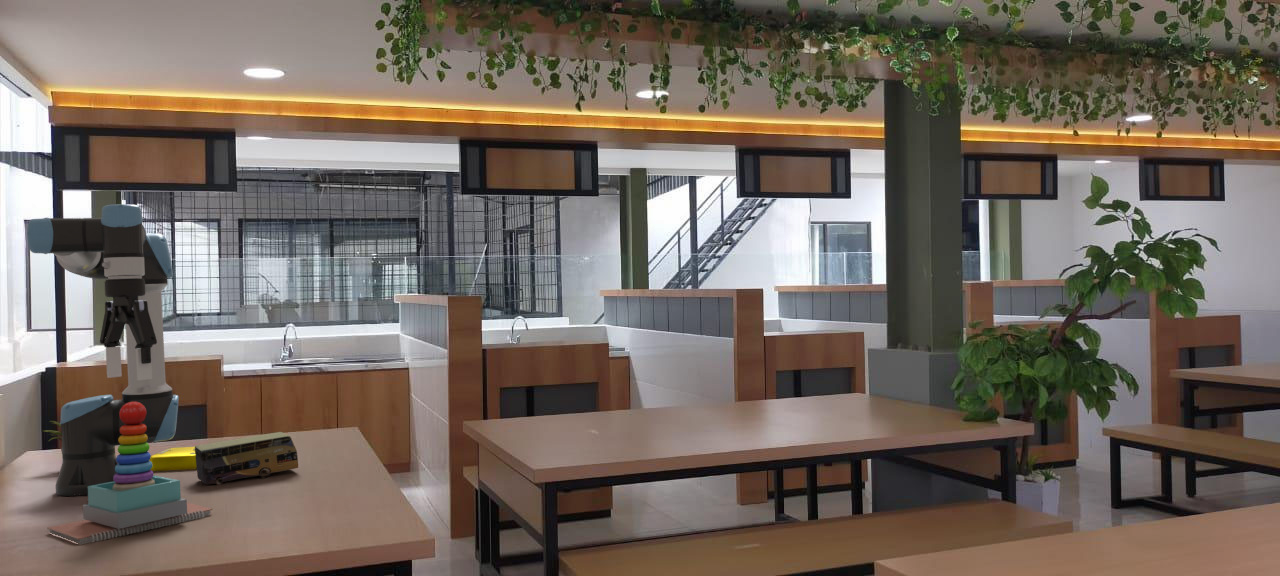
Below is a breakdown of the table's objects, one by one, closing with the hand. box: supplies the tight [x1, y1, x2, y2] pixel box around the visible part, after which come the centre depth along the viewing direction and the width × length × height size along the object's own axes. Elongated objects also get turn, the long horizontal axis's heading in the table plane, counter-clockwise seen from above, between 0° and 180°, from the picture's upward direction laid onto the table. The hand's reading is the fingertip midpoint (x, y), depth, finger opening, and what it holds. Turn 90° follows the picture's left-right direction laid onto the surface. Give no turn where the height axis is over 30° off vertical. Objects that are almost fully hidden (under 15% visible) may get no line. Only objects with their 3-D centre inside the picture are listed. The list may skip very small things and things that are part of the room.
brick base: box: [82, 474, 188, 529], centre depth 201 cm, size 16×14×7 cm
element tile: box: [149, 446, 197, 472], centre depth 271 cm, size 15×15×5 cm
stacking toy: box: [113, 402, 155, 491], centre depth 201 cm, size 8×8×19 cm
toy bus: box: [194, 431, 299, 486], centre depth 250 cm, size 10×23×10 cm, turn 124°
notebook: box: [46, 502, 213, 545], centre depth 203 cm, size 27×17×2 cm, turn 141°
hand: (129, 378), depth 201 cm, fingers open, 13 cm apart
